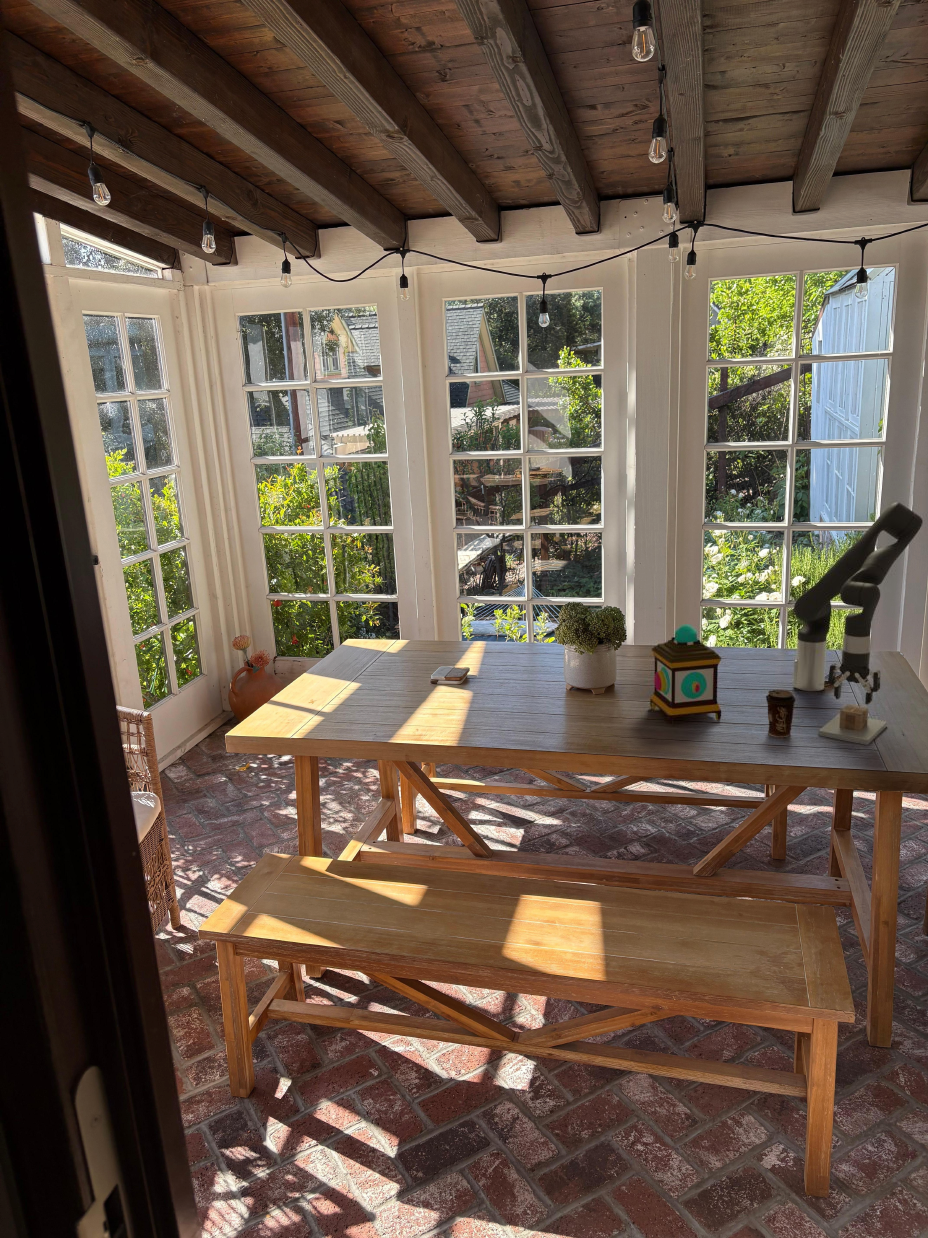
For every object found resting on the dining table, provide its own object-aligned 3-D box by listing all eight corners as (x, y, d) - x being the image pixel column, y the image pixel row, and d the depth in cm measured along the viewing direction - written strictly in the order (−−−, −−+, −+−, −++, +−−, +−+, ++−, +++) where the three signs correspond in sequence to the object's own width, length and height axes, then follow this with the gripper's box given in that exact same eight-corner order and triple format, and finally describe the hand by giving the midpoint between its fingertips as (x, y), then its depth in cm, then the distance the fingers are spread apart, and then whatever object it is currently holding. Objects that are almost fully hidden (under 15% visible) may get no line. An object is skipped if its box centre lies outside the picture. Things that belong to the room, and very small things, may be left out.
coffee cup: (760, 729, 277) (762, 688, 274) (788, 728, 277) (790, 687, 274) (769, 739, 269) (770, 698, 266) (797, 738, 269) (799, 697, 266)
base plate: (818, 735, 270) (818, 730, 270) (839, 717, 284) (839, 713, 283) (867, 745, 261) (867, 740, 261) (886, 726, 275) (886, 721, 274)
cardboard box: (846, 721, 276) (847, 704, 275) (867, 724, 273) (868, 707, 271) (839, 727, 272) (840, 710, 270) (860, 731, 268) (861, 714, 266)
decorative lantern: (666, 728, 282) (667, 635, 275) (644, 707, 301) (644, 619, 294) (727, 721, 285) (729, 629, 278) (701, 701, 304) (703, 614, 297)
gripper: (885, 649, 265) (881, 702, 269) (836, 642, 274) (832, 693, 278) (877, 655, 259) (873, 709, 263) (827, 648, 268) (823, 700, 272)
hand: (852, 701), depth 270 cm, fingers open, 8 cm apart
